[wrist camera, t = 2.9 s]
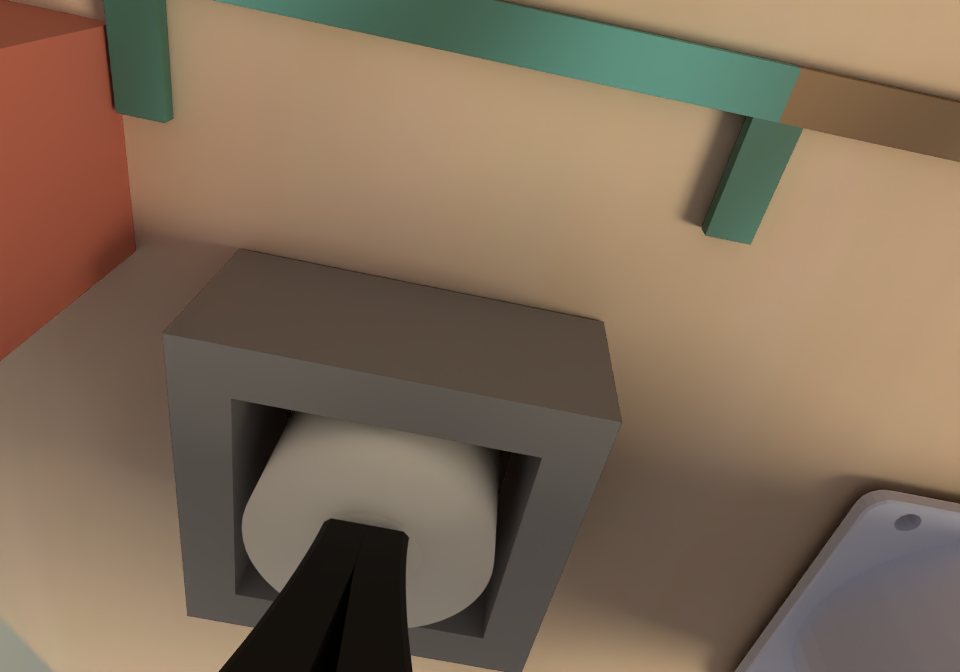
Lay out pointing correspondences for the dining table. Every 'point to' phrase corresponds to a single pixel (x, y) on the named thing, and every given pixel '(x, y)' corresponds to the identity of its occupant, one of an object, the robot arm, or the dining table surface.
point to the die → (57, 167)
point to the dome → (380, 505)
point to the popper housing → (386, 423)
